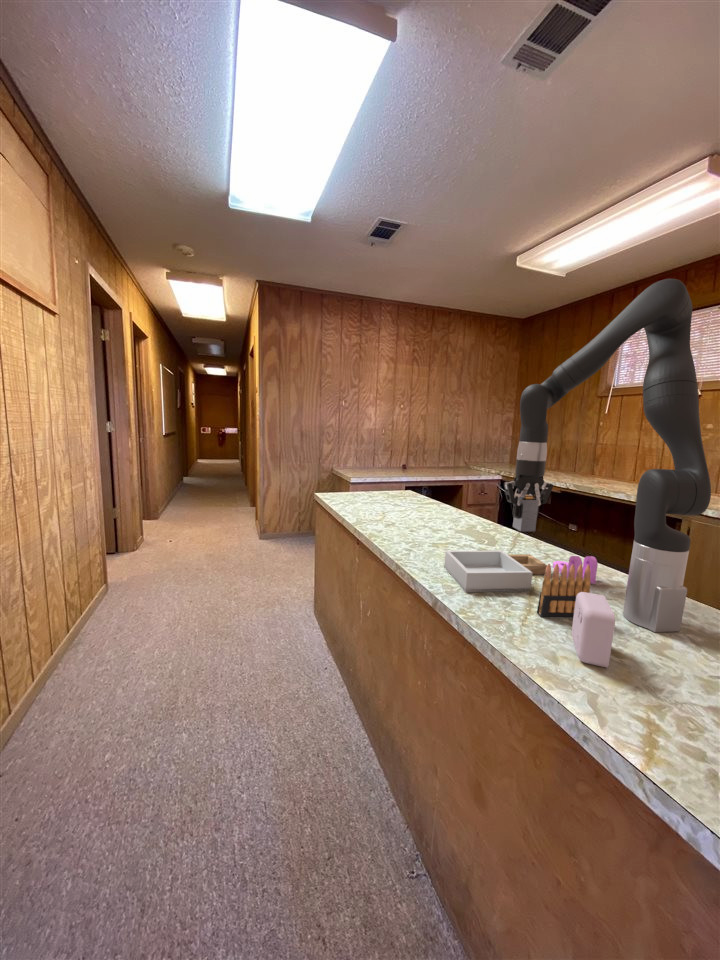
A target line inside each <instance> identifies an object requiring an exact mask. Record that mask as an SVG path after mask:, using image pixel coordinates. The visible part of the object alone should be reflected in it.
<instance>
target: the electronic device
mask: <svg viewBox="0 0 720 960" xmlns="http://www.w3.org/2000/svg"><path fill="white" fill-rule="evenodd" d="M615 623H616V617H615V613H614V610H612V607H611V606H610V604H609V602H608V600H607V598H606V597H605V595H603V594H596V593H592V592H590V593H586V592H580V593H578V594H577V596H576V602H575V609H574V617H573V618H572V627H571V637H572V641H573V645H574V648H575V650H576V653H577V654H576V655H577V657H578V659H579V661H581V662H582V663H585V664H588V665H593V666H597V667H602V668H606V669H608V667H609V665H610V659H611V652H612V644H613V640H614V638H613V637H614V633H615V632H614V631H615V628H616V627H615V626H616V624H615Z"/></svg>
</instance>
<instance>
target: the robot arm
mask: <svg viewBox="0 0 720 960" xmlns="http://www.w3.org/2000/svg"><path fill="white" fill-rule="evenodd" d="M688 291H689V290H687V287H686V285H685V283H683V281H681V280H680V279H677V278H665V279H662V280H661V279H660V280H658V281H656V282H653V283H652V284H651V285H649V286H648V287H646V288H645V289H644V290H643V291H642V292H641V293H640V294H638V295H637V296H636V297H635V298H634V299H633V300H632V301H631V302H630V303H629V304H628V305H627V306H626V307H624V309H622V311H621V312H620V313H619V314H618V315H617V316H616V317H614V319H613V320H611V322H609V324H607V325H606V326H605V327H604V328H603V329H602V330H601V331H600V332H599V333H598V334H597V335H595V337H594V338H592V339H591V340H590V341H589V342H587V344H585V345H584V346H583V347H582V348H580V349H579V350H578V351H577V352H575V353H574V354H573V355H572V356H571V355H570V356H569V358H567V359H566V360H565V361H563V362H562V363H561V364H559V365H558V366H557V367H556V368H555V369H554V370H553V371H552V374H551V375H550V376H549V377H548V378H546V379H545V380H544V381H543V382H542V383H540V384H539V383H534V384H530V385H528V386H527V387H525V388H524V390H523V391H522V393H521V395H520V401H519V413H520V414H519V415H520V423H521V424H520V431H519V438H518V439H519V440H518V446H517V452H516V460H515V461H516V462H515V471H514V472H515V473H514V474H515V476H514V479H513V480H511V481H504V482H503V487H504V494H505V499H506V501H507V502H508V503H510V504H512V506H513V507H512V517H513V518H514V517H515V518H517V519H519V518H520V512H521V506H520V505H521V503H522V499H524V498H525V495H532V496H534V499H537V500H539V504H538V512H537V518H538V517H539V513H540V506H541V505H545V504H547V502H548V500H549V497H550V495H551V493H552V490H553V488H554V483H549V482H545V480H544V476H545V473H546V464H547V463H546V462H547V454H548V445H547V444H548V437H549V436H548V435H549V423H548V422H547V416H548V414H547V412H548V410H549V409H550V408H553V406H554V405H555V404H557V403H558V402H559V401H560V400H561V399H562V398H564V397H565V396H566V395H567V394H569V392H571V390H573V389H575V388H577V387H579V385H582V383H584V382H585V381H587V380H589V378H591V377H593V375H595V374H596V373H598V371H599V370H601V369H602V368H603V367H604V365H606V364H607V362H608V361H609V360H610V359H611V357H612V356H613V355H614V354H615V353H616V351H618V349H619V348H620V347H621V346H622V345H623V344H624V343H625V342H626V341H628V339H630V338H631V337H632V336H633V335H635V334H636V333H638V332H639V331H641V330H642V329H643V330H644V331H645V332H644V333H645V336H646V339H647V345H648V354H649V355H648V364H647V367H646V370H645V374H644V378H643V383H642V401H643V402H642V403H643V413H644V416H645V418H646V420H647V421H648V423H649V424H650V426H651V427H652V429H654V431H655V432H656V433H657V435H658V436H659V437H660V438H661V439H662V441H663V442H664V443H665V444H666V447H668V450H669V452H670V455H671V457H672V461H673V467H674V469H666V468H665V469H663V468H652V469H651V468H650V469H648V470H646V471H644V472H643V474H642V475H641V476H640V479H639V481H638V485H637V489H636V490H637V491H636V500H635V511H634V513H635V514H634V522H633V526H634V527H633V528H634V536H633V537H634V539H633V544H632V552H631V557H630V562H629V569H628V577H627V583H626V590H625V595H624V603H623V609H622V615H623V617H624V618H626V620H628V621H629V622H631V623H633V624H635V625H637V626H640V627H642V628H645V629H648V630H650V631H651V632H654V633H663V632H664V633H665V632H680V631H681V626H682V622H683V615H684V610H685V605H686V599H687V594H688V588H687V587H686V586H684V581H685V577H686V576H685V575H686V572H687V571H686V569H687V564H688V559H689V553H690V548H691V537H690V536H689V535H688V534H687V533H684V532H683V531H680V530H677V529H674V528H672V527H671V526H669V525H668V524H667V515H675V516H676V515H677V516H678V515H679V516H699V515H702V514H703V513H705V512H706V511H707V509H708V507H709V506H710V502H711V499H712V498H711V497H712V487H711V485H712V484H711V479H710V474H709V472H710V471H709V470H708V469H709V468H708V463H707V459H706V456H705V455H706V454H705V450H704V446H703V445H704V444H703V438H702V429H701V420H700V419H701V418H700V402H699V401H700V399H699V387H698V379H697V371H696V366H695V361H694V359H693V358H694V357H693V353H692V350H691V349H692V348H691V333H692V332H691V328H692V317H693V302H692V300H691V297H690V294H689V292H688ZM515 488H516V489H515ZM514 489H515V491H514ZM540 489H541V491H540Z"/></svg>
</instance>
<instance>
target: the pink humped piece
mask: <svg viewBox="0 0 720 960" xmlns="http://www.w3.org/2000/svg"><path fill="white" fill-rule="evenodd" d="M583 558H584V559H583V561H582V557H580V556H579V555H571V556H570V557H569V559H568V562H567V561H563V560H562V561H561V560H555V561H553V562H552V568H553V569H554V568H555V565H556V564H558V566H559V574H561V571H562V568H563V566H564V564H566V566H567V579H568V576H569V570H570V568H571V566H572V564H574V567H575V579H576V574H577V570H578V567H579V566H580V564H581V565H582V568H583V578H584V573H585V570H586V567H587V565H588V564H589V565H590V569H591V576H590V584H596V579H597V572H598V560H597V558H596V557H595V556H592V555H591V556H590V555H587V556H585V557H583ZM582 581H583V580H582Z"/></svg>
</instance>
